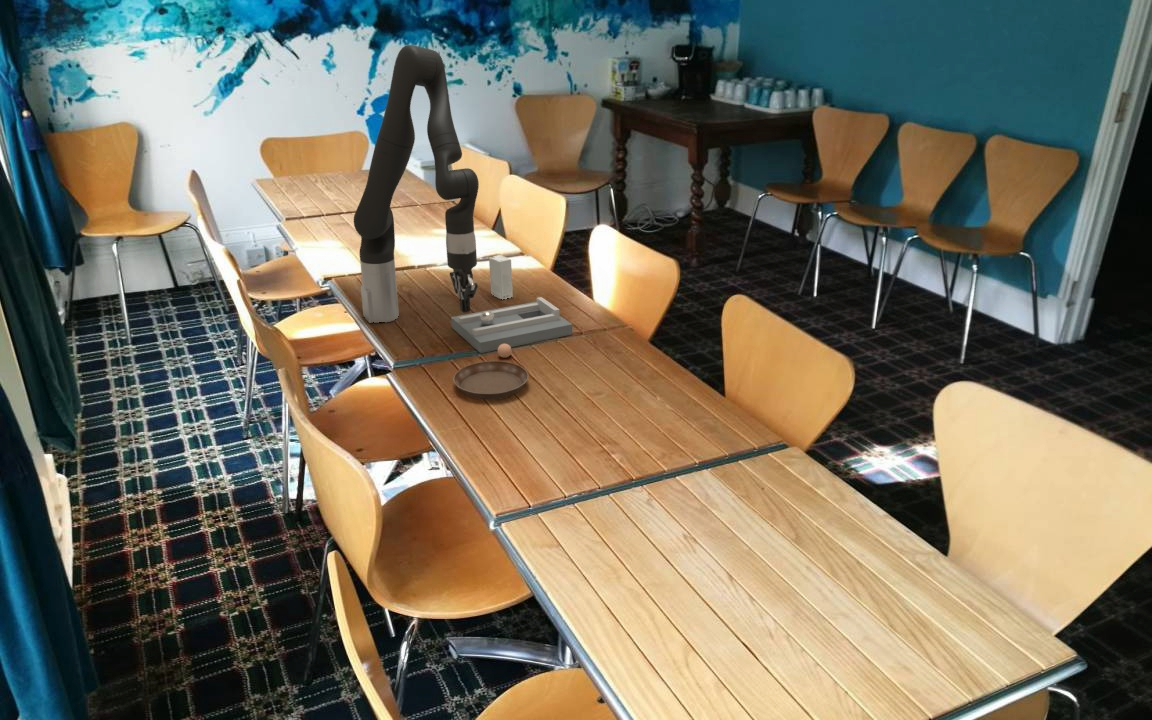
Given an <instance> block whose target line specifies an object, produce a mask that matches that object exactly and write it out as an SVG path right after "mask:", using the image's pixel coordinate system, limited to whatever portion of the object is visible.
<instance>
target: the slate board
mask: <svg viewBox="0 0 1152 720" xmlns="http://www.w3.org/2000/svg"><path fill="white" fill-rule="evenodd" d="M535 300H536V301H533V302H527V303H522V304H517V305H511V306H510V305H509V306H505V307H499V308H494V309H488V310H487V311H490V312H492V313H493V314H494V316H495V321H494V323H493V324H492V325H489V326H485V325H483V324H482V323H481V321H480V315H481V314H482V313H483V312H484V311H485V310H483V311H478V312H473V313H467V314H466V313H465V314H461V315H456V316H452V317H450V323H451V329H453V330H454V331H455V332H456V333H457V334H458V335H460V336H461V337H462V339H464V340H465V341H466V342H467V343H468V344H469V345H471V347H473V348H474V349H475V350H476V351H477V352H478V353H479V354H484V353H488V352H489V353H490V352H494V351H497V350H498V347H499V346H500V345H501V344H508V345H509V346H510V347H511V348H513V347H518V346H523V345H527V344H528V345H529V344H532V343H537V342H543V341H547V340H553V339H557V338H562V337H566V336H571V335H573V323H571V322H570V321H568V320H567V319H565V318H564V317H562V316H561V315H560V314H561V313H560V312H561V310H560V309H559V308H558V307H557V306H555V305H554V304H552V303H551V302H549V301H548V300H546V299H545V298H543V297H542V296H540V297H536V299H535Z"/></svg>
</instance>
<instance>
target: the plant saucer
mask: <svg viewBox="0 0 1152 720" xmlns="http://www.w3.org/2000/svg"><path fill="white" fill-rule="evenodd" d="M452 379H453V383H454V385H455V386H456V387H457V388H458V389H459V391H460V392H462V393H463V394H464V395H466V396H467V397H470V398H472V399H475V398H476V400H481V399H482V400H481V401H494V400H495V401H496V399H497V400H503V399H507V398H510V397H512V396H513V395H516V394H517V393H518V392H520V390H521V389H523V387H524V386H525V385H526V383H527V382H528V379H529V372H528V371H527V369H525V367H522V366H521V365H519V364H517V363H513V362H508V361H502V360H488V361H487V360H486V361H480V362H479V361H478V362H474V363H471V364H467V365H465V366H463V367H462V368H460V369H459V370H458V371H456V372H455V374H454V375H453V378H452ZM509 396H510V397H509ZM506 397H507V398H506ZM502 398H503V399H502Z"/></svg>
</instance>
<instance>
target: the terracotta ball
mask: <svg viewBox="0 0 1152 720" xmlns="http://www.w3.org/2000/svg"><path fill="white" fill-rule="evenodd" d="M496 351H497V354H498V355H499V357H501V358H502V359H503V358H509V356H511V354H512V352H513V351H512V347H510V346H509V345H508V344H501V345H500V346H499V347H498V350H496Z"/></svg>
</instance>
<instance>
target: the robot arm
mask: <svg viewBox="0 0 1152 720" xmlns="http://www.w3.org/2000/svg"><path fill="white" fill-rule="evenodd" d="M445 69H446V68H445V65H444V60H443V58H442V56H441V55H440V53H439V52H437V51H436V50H434V49H431V48H426V47H423V46H418V45H412V44H408V45H403V47H402V48H401V49H400V50H399V51H398V54H397V55H396V59H395V62H394V66H393V70H392V77H391V83H390V88H389V93H388V98H387V101H386V107H385V110H384V114H383V117H382V121H381V122H382V123H381V125H380V127H379V131H378V134H377V138H376V142H375V143H374V144H375V145H374V149H373V153H372V156H371V157H372V158H371V161H370V164H369V165H370V166H369V171H368V177H367V180H366V185H365V188H364V190H363V192H362V193H363V194H362V196H361V199H360V201H359V203H358V206H357V208H356V210H355V213H354V216H353V226H354V229H355V231H356V233H357V234H358V235H359V237H360V239H361V240H360V248H359V259H360V260H359V263H360V272H361V282H362V284H360V295H361V303H362V304H361V305H362V314H363V315H362V316H363V317H365V318H364V319H365V320H366V321H367V322H368V323H370V324H372V323H373V322H374V323H373V324H375V323H376V324H377V323H378V324H380V323H379V322H385V323H390V322H393V321H396V320H397V319H399V317H398V316H400V315H399V310H400V309H399V300H398V299H399V298H398V288H397V287H398V286H397V275H396V261H395V245H396V238H395V237H396V235H395V234H396V233H395V222H394V221H395V220H394V214H393V211H392V208H391V204H392V200H393V196H394V194H395V192H396V189H397V187H398V185H399V183H400V181H401V179H402V178H403V175H404V173H405V170H406V168H407V166H408V164H409V161H410V159H411V155H412V152H413V148H414V145H415V141H416V133H415V128H414V122H413V119H412V113H411V102H412V98H413V96H414V95H413V94H414V91H415V88H416V87H417V86H418V87H423V88H425V91H426V94H427V96H428V100H429V114H428V119H427V124H426V127H427V128H426V131H427V132H426V134H427V138H428V141H429V145H430V148H431V152H432V155H433V159H434V172H435V173H434V174H435V175H434V176H435V178H434V179H435V190H436V193H437V195H438V196H439V198H441V199H442V200H445V201H450V200H451V201H452V200H458V199H459V201H458V203H457V204H455V205H453V206H451V207H449V208H447V209H446V211H445V213H444V215H445V217H444V219H445V247H446V259H447V260H446V262H447V266H448V268H449V269H452V270H453V271H450V272H449V277H450V280H451V283H452V286H453V288H454V292H455V294H457V296H458V298H459V309H460V311H461V312H462V313H465V314H466V313H469V312H470V311H471V303H470V301H471V300H470V299H473V298H474V297H475V294H476V293H477V290H478V287H479V286H478V283H477V282H474V281H473V280H474V274H473V270H472V269H473V268H475V267H476V266H477V265H478V259H477V257H478V256H477V240H476V235H475V226H474V225H475V224H474V223H475V222H474V221H475V220H474V212H475V206H476V201H477V197H478V193H479V178H478V175H477V173H476V172H475V171H474V170H473V169H472V168H469V167H468V168H460V169H451V170H449V166H450V165H453V164H454V163H457V162H459V161H460V160H461V159H462V157H463V152H462V148H461V145H460V141H459V137H458V135H457V131H456V128H455V125H454V121H453V116H452V111H451V104H450V97H449V95H450V94H449V89H448V83H447V74H446V70H445ZM395 319H396V320H395Z"/></svg>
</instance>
